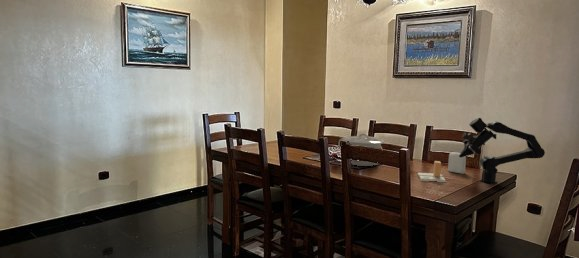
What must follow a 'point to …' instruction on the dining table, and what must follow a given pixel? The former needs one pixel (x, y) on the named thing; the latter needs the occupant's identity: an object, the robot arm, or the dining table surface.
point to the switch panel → (430, 177)
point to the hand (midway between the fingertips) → (459, 156)
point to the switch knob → (437, 168)
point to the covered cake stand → (363, 141)
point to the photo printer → (456, 163)
